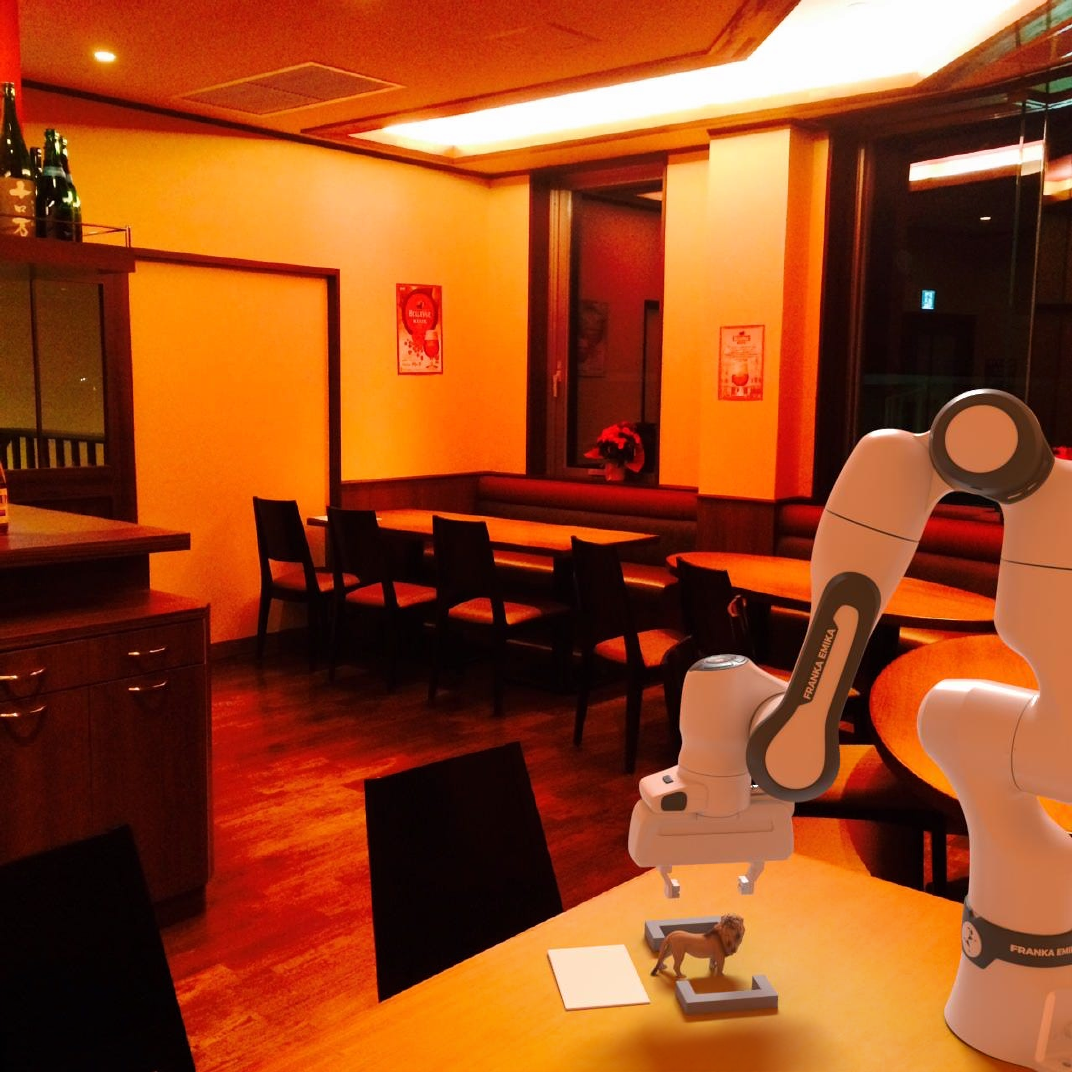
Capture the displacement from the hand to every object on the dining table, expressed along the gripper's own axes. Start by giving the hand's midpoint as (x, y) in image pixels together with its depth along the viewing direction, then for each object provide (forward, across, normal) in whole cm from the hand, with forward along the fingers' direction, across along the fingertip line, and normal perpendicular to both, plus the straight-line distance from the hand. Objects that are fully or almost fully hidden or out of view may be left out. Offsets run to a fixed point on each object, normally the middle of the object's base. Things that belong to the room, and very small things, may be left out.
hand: (708, 894), depth 132 cm
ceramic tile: (+10, +14, 0) cm, 17 cm away
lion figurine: (+10, +1, 0) cm, 10 cm away
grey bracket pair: (+10, 0, 0) cm, 10 cm away
